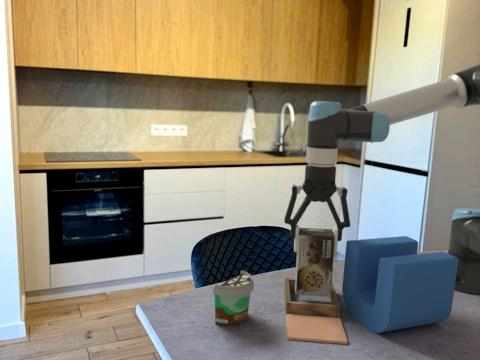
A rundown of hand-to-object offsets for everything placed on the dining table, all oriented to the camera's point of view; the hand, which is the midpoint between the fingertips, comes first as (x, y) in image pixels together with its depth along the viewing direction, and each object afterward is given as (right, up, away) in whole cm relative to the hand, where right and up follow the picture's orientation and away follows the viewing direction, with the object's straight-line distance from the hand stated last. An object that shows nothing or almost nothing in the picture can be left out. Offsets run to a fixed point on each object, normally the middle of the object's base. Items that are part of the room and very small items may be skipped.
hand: (314, 251), depth 117 cm
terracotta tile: (-2, -16, -12) cm, 20 cm away
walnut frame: (-1, -14, +2) cm, 14 cm away
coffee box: (0, -11, +2) cm, 11 cm away
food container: (-20, -15, -9) cm, 26 cm away
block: (+18, -16, -4) cm, 25 cm away
